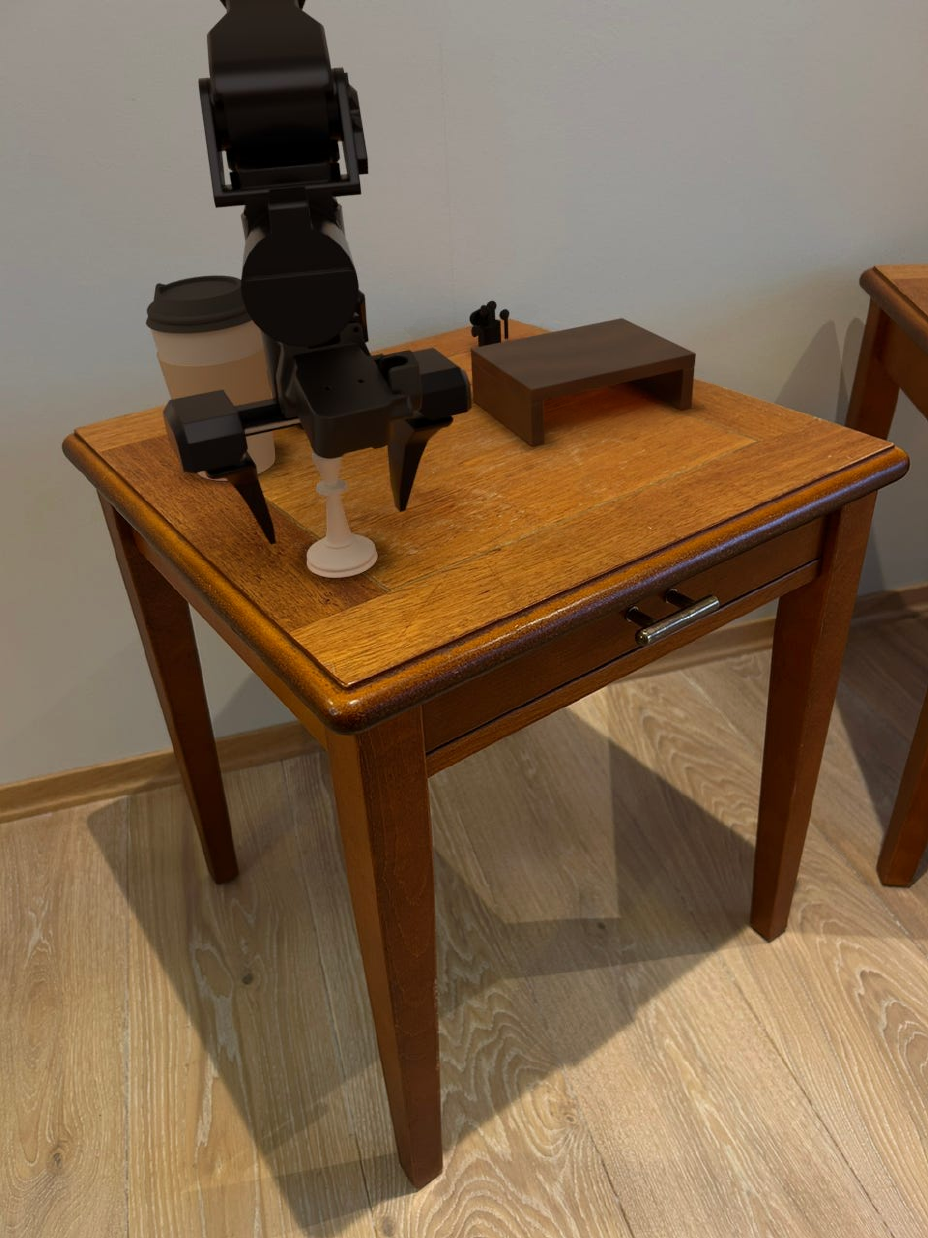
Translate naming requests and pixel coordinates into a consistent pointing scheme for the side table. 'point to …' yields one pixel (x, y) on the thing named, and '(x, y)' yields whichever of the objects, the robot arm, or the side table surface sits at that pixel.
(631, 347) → the shelf
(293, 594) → the side table surface
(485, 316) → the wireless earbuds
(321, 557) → the chess piece
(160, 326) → the coffee cup
